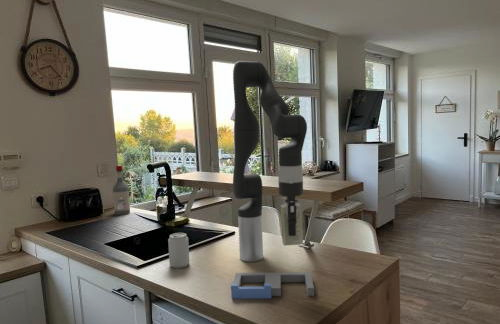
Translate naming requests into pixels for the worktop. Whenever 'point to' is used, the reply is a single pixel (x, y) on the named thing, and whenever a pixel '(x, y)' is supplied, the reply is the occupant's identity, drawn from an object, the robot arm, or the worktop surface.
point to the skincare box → (284, 222)
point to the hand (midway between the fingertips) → (291, 232)
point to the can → (178, 250)
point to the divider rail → (268, 284)
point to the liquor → (121, 195)
